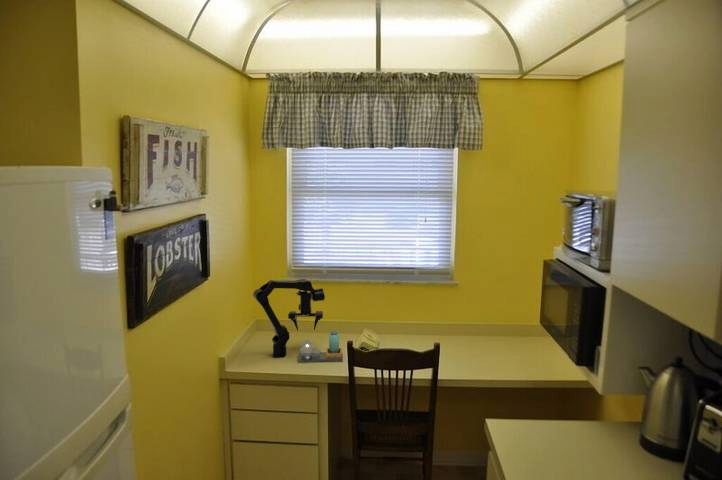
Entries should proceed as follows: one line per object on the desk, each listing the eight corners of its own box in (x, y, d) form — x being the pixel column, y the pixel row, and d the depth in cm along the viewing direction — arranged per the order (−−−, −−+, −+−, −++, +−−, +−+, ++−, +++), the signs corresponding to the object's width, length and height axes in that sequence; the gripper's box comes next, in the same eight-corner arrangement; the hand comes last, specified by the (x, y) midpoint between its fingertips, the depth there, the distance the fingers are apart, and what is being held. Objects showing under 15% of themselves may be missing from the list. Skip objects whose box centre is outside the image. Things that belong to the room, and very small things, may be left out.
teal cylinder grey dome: (328, 356, 271) (329, 334, 269) (329, 353, 276) (329, 331, 274) (338, 356, 271) (338, 334, 269) (338, 353, 276) (339, 331, 274)
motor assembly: (298, 362, 267) (298, 346, 266) (299, 355, 278) (299, 339, 277) (342, 361, 268) (342, 346, 267) (342, 354, 279) (342, 339, 278)
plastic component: (377, 348, 283) (360, 340, 282) (371, 359, 284) (355, 351, 284) (378, 334, 302) (363, 326, 302) (373, 344, 303) (358, 337, 303)
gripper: (323, 298, 289) (323, 325, 291) (289, 299, 288) (290, 326, 290) (322, 303, 278) (322, 331, 280) (287, 304, 277) (288, 332, 279)
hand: (306, 330), depth 282 cm, fingers open, 9 cm apart
